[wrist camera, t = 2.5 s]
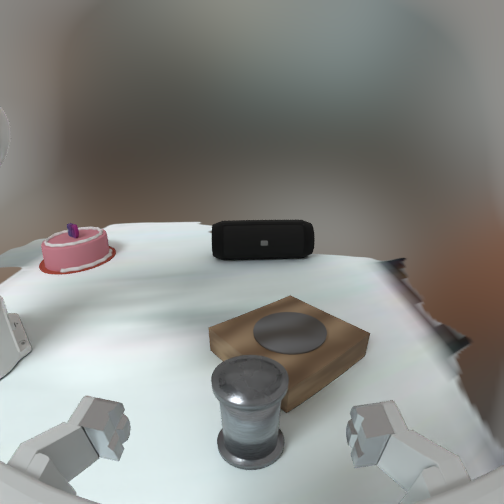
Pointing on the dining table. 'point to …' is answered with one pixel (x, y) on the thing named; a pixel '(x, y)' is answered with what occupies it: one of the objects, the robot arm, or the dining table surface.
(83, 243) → the cake
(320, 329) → the stand
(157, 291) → the dining table surface
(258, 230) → the portable speaker
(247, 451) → the cylinder
